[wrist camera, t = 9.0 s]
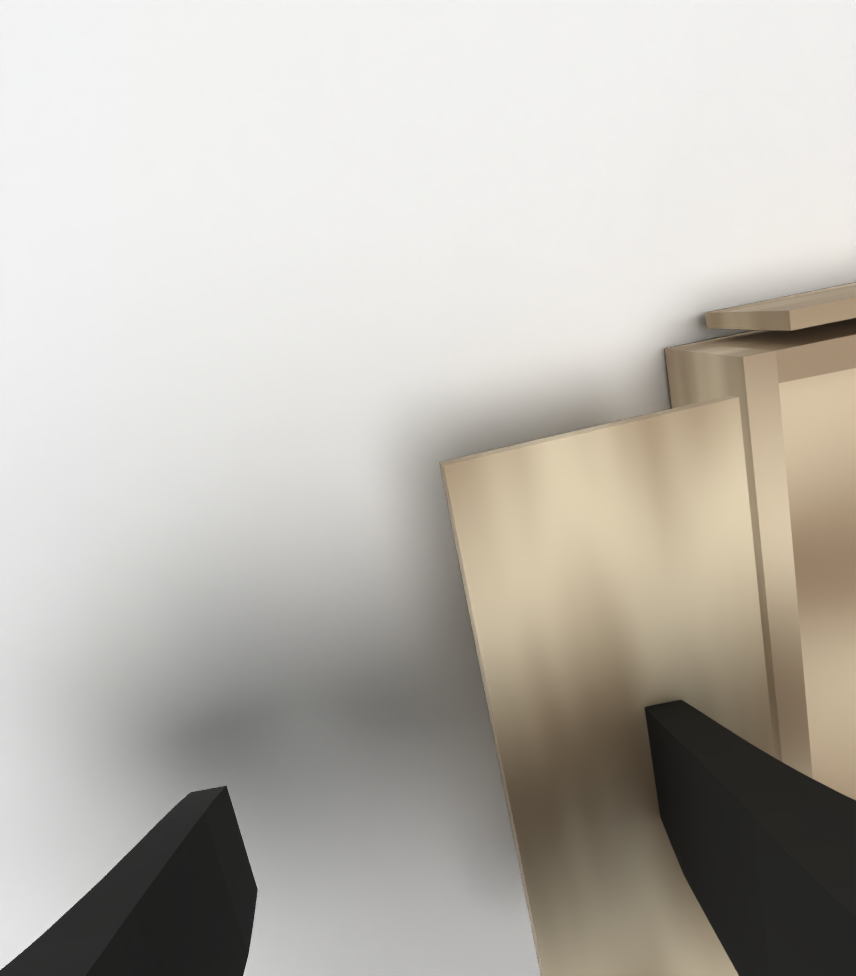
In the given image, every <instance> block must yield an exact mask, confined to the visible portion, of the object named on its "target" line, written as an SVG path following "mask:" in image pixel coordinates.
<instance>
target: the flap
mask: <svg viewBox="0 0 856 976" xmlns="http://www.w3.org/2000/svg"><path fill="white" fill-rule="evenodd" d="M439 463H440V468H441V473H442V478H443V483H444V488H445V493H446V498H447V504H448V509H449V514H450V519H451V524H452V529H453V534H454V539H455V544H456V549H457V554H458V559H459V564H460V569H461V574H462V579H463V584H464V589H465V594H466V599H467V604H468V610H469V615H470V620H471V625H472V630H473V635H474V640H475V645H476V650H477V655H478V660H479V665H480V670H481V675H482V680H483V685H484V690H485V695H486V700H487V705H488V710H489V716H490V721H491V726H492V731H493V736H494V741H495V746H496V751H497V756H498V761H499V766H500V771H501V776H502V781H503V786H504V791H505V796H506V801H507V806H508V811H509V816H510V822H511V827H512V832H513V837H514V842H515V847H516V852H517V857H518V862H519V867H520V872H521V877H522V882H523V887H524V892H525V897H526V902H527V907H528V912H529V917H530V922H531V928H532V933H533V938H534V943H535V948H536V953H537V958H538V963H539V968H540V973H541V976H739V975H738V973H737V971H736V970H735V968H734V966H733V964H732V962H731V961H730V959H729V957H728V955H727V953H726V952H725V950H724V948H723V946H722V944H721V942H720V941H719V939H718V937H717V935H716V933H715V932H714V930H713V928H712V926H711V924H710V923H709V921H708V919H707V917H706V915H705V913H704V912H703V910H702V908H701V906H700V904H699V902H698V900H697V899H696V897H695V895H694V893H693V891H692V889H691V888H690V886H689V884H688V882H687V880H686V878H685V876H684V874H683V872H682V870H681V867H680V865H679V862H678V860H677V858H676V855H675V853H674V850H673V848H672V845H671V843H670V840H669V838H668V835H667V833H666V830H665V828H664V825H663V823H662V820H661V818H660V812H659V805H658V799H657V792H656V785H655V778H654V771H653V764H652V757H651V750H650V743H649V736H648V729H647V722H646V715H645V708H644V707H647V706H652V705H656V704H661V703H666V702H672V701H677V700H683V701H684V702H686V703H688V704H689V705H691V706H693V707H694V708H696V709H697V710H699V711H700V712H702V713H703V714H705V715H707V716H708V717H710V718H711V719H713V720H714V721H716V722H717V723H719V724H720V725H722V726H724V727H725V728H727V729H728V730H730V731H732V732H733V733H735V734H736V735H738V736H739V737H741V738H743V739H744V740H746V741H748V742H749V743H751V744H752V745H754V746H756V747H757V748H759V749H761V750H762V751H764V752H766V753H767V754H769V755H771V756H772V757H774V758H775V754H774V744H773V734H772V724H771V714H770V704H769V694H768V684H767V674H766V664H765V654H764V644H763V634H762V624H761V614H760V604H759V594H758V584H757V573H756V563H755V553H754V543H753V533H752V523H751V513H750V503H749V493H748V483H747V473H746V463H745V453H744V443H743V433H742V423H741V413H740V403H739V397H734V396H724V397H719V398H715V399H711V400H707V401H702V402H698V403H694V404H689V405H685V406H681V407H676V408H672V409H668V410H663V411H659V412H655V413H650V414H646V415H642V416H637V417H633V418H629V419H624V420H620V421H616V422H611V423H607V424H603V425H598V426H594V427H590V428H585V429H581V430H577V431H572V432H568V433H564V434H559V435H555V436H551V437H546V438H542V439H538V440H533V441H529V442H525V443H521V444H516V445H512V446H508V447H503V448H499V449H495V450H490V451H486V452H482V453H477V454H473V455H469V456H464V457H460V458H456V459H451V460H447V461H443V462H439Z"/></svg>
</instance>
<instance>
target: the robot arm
mask: <svg viewBox="0 0 856 976" xmlns="http://www.w3.org/2000/svg"><path fill="white" fill-rule="evenodd" d="M644 708H645V715H646V722H647V729H648V736H649V743H650V750H651V757H652V764H653V771H654V778H655V785H656V792H657V799H658V805H659V812H660V818H661V820H662V823H663V825H664V828H665V830H666V833H667V835H668V838H669V840H670V843H671V845H672V848H673V850H674V853H675V855H676V858H677V860H678V862H679V865H680V867H681V870H682V872H683V874H684V876H685V878H686V880H687V882H688V884H689V886H690V888H691V889H692V891H693V893H694V895H695V897H696V899H697V900H698V902H699V904H700V906H701V908H702V910H703V912H704V913H705V915H706V917H707V919H708V921H709V923H710V924H711V926H712V928H713V930H714V932H715V933H716V935H717V937H718V939H719V941H720V942H721V944H722V946H723V948H724V950H725V952H726V953H727V955H728V957H729V959H730V961H731V962H732V964H733V966H734V968H735V970H736V971H737V973H738V975H739V976H856V800H854V799H852V798H850V797H847V796H845V795H843V794H841V793H839V792H837V791H835V790H833V789H831V788H830V787H828V786H826V785H824V784H822V783H820V782H818V781H816V780H814V779H812V778H810V777H808V776H806V775H805V774H803V773H801V772H799V771H797V770H795V769H794V768H792V767H790V766H788V765H786V764H785V763H783V762H781V761H779V760H778V759H776V758H774V757H772V756H771V755H769V754H767V753H766V752H764V751H762V750H761V749H759V748H757V747H756V746H754V745H752V744H751V743H749V742H748V741H746V740H744V739H743V738H741V737H739V736H738V735H736V734H735V733H733V732H732V731H730V730H728V729H727V728H725V727H724V726H722V725H720V724H719V723H717V722H716V721H714V720H713V719H711V718H710V717H708V716H707V715H705V714H703V713H702V712H700V711H699V710H697V709H696V708H694V707H693V706H691V705H689V704H688V703H686V702H684V701H683V700H677V701H672V702H666V703H661V704H656V705H652V706H647V707H644ZM256 898H257V886H256V883H255V880H254V876H253V873H252V870H251V866H250V863H249V860H248V856H247V853H246V850H245V846H244V843H243V840H242V836H241V833H240V829H239V826H238V823H237V819H236V816H235V813H234V809H233V806H232V803H231V799H230V796H229V793H228V789H227V786H222V787H217V788H212V789H206V790H201V791H196V792H191V793H189V794H188V795H187V796H186V797H185V798H184V799H182V800H181V801H180V802H179V803H178V804H177V805H176V806H175V807H174V808H173V809H172V810H171V811H170V812H169V813H168V814H167V815H166V816H165V817H164V818H163V819H162V820H161V821H160V822H159V823H158V824H157V825H156V826H155V827H154V828H153V829H152V830H151V831H150V832H149V833H148V834H147V835H146V836H145V837H144V838H143V839H142V840H141V841H140V842H139V843H138V844H137V845H136V846H135V847H134V848H133V849H132V850H131V851H130V852H129V853H128V854H127V855H126V856H125V857H124V858H123V859H122V860H121V861H120V862H119V863H118V864H117V865H116V866H115V867H114V868H113V869H112V870H111V871H110V872H109V873H108V874H107V875H106V876H105V877H104V878H103V879H102V880H101V881H100V882H99V883H98V884H96V885H95V886H94V887H93V888H92V889H91V890H90V891H89V892H88V893H87V894H86V895H85V896H84V897H83V898H81V899H80V900H79V901H78V902H77V903H76V904H75V905H74V906H73V907H72V908H71V909H70V910H69V911H67V912H66V913H65V914H64V915H63V916H62V917H61V918H60V919H59V920H58V921H57V922H56V923H55V924H53V925H52V926H51V927H50V928H49V929H48V930H47V931H46V932H45V933H44V934H43V935H41V936H40V937H39V938H38V939H37V940H36V941H35V942H33V943H32V944H31V945H30V946H29V947H28V948H27V949H25V950H24V951H23V952H22V953H21V954H19V955H18V956H17V957H16V958H15V959H14V960H12V961H11V962H10V963H9V964H7V965H6V966H5V967H4V968H2V969H1V970H0V976H243V974H244V970H245V966H246V962H247V958H248V953H249V947H250V941H251V934H252V928H253V921H254V913H255V906H256Z"/></svg>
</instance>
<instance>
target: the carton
mask: <svg viewBox="0 0 856 976" xmlns="http://www.w3.org/2000/svg"><path fill="white" fill-rule="evenodd" d="M705 316H706V326H707V328H710V329H747V330H754V331H749V332H744V333H739V334H734V335H729V336H724V337H719V338H714V339H709V340H704V341H699V342H694V343H689V344H684V345H679V346H674V347H669V348H665V355H666V363H667V371H668V379H669V388H670V396H671V404H672V408H676V407H681V406H685V405H689V404H694V403H698V402H702V401H707V400H711V399H715V398H719V397H724V396H734V397H739V403H740V413H741V423H742V433H743V443H744V453H745V463H746V473H747V483H748V493H749V503H750V513H751V523H752V533H753V543H754V553H755V563H756V573H757V584H758V594H759V604H760V614H761V624H762V634H763V644H764V654H765V664H766V674H767V684H768V694H769V704H770V714H771V724H772V734H773V744H774V754H775V758H776V759H778V760H779V761H781V762H783V763H785V764H786V765H788V766H790V767H792V768H794V769H795V770H797V771H799V772H801V773H803V774H805V775H806V776H808V777H810V778H812V779H814V780H816V781H818V782H820V783H822V784H824V785H826V786H828V787H830V788H831V789H833V790H835V791H837V792H839V793H841V794H843V795H845V796H847V797H850V798H852V799H854V800H856V282H855V283H850V284H845V285H840V286H835V287H830V288H825V289H820V290H815V291H810V292H806V293H801V294H796V295H791V296H786V297H781V298H776V299H771V300H766V301H761V302H756V303H751V304H746V305H741V306H736V307H731V308H726V309H721V310H716V311H711V312H706V313H705Z"/></svg>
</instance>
